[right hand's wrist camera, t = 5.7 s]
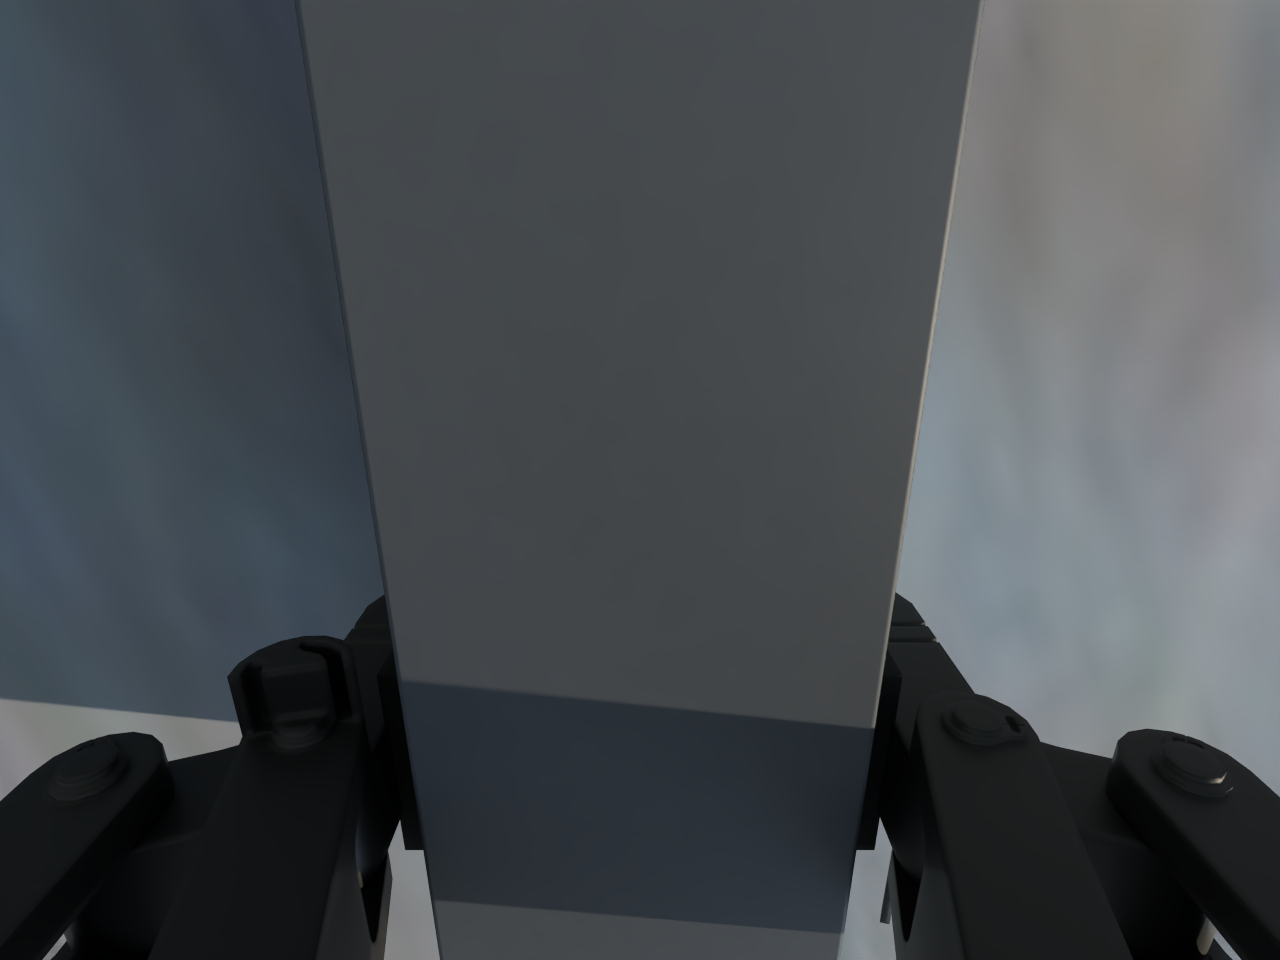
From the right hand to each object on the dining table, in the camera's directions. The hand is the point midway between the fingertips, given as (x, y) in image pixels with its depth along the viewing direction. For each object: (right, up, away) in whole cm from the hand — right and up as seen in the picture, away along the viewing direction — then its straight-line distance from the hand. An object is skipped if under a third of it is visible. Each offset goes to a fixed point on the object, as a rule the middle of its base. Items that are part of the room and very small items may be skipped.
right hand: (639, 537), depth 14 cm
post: (0, +28, -10) cm, 30 cm away
